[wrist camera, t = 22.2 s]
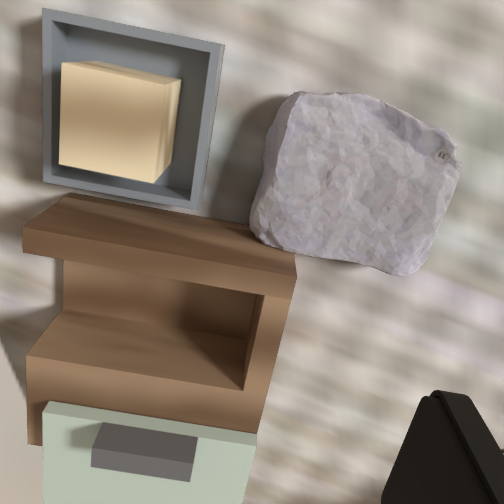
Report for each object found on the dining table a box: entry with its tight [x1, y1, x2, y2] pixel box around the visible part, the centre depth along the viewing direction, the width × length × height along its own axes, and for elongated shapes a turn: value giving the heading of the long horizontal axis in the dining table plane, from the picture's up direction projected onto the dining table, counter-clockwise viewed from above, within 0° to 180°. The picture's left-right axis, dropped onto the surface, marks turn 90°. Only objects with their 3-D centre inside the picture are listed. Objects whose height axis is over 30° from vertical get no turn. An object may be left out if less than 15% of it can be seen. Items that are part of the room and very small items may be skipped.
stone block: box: [249, 91, 461, 277], centre depth 28 cm, size 12×5×10 cm
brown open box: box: [22, 193, 297, 446], centre depth 31 cm, size 16×15×6 cm
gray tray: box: [42, 8, 225, 210], centre depth 27 cm, size 9×9×2 cm
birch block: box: [59, 61, 182, 183], centre depth 25 cm, size 5×5×5 cm
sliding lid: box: [42, 401, 257, 504], centre depth 29 cm, size 8×14×3 cm, turn 80°
